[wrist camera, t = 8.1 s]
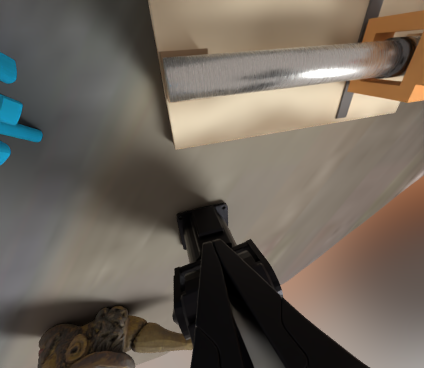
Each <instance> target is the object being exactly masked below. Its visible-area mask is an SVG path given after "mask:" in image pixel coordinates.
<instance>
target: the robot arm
mask: <svg viewBox="0 0 424 368" xmlns="http://www.w3.org/2000/svg"><path fill="white" fill-rule="evenodd" d="M223 206H224V207H223ZM177 222H178V226H179V231H180V235H181V240H182V244H183V248H184V249H185V250H187V253H188V257H189V262H190V264H187V265H185V266H182V267H177V268H175V276H174V309H173V320H174V322H175V323H176V324H178V325H179V327H180V329H181V331H182V334H183V336H184V338H185V339H186V340H188V339H191V341H192V345H193V354H192V361H191V367H190V368H370V367H368V366H367V365H365V364H364V363H362V362H361V361H360V360H358V359H357V358H356V357H354V356H353V355H352V354H351V353H349V352H348V351H347V350H345V349H344V348H343V347H342V346H340V345H339V344H338V343H337V342H335V341H334V340H333V339H331V338H330V337H329V336H328V335H326V334H325V333H324V332H322V331H321V330H320V329H319V328H317V327H316V326H315V325H314V324H312V323H311V322H310V321H309V320H308V319H306V318H305V317H304V316H303V315H302V314H301V313H299V312H298V311H297V310H296V309H295V308H294V307H293V306H292V305H290V304H289V303H288V302H287V301H286V300H285V299H284V298H283V293H282V289H281V287H280V284H279V281H278V279H277V277H276V275H275V273H274V271H273V269H272V267H271V265H270V264H269V262H268V261H267V260H266V258H265V257H264V256H263V255H262V253H261V252H260V251H259V249H258V248H257V247H256V245H255V244H254V243H253V241H252V240H251V239H250V240H247V241H246V242H244V243H242V244H239V245H236V243H235V240H234V238H233V236H232V234H231V232H230V230H229V228H228V207H227V204H226V203H220V204H216V205H212V206H207V207H203V208H199V209H195V210H190V211H186V212H182V213H178V214H177Z"/></svg>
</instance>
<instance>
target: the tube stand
mask: <svg viewBox="0 0 424 368" xmlns="http://www.w3.org/2000/svg"><path fill="white" fill-rule="evenodd" d="M148 4H149V10H150V15H151V21H152V26H153V32H154V37H155V43H156V48H157V54H158V60H159V65H160V71H161V76H162V82H163V87H164V93H165V98H166V104H167V109H168V115H169V121H170V126H171V132H172V137H173V143H174V146H175V149H176V150H178V149H183V148H189V147H195V146H201V145H207V144H213V143H219V142H225V141H231V140H236V139H242V138H248V137H254V136H260V135H266V134H272V133H278V132H284V131H289V130H295V129H301V128H307V127H313V126H319V125H325V124H331V123H337V122H342V121H348V120H354V119H360V118H366V117H372V116H378V115H384V114H390V113H395V112H396V110H397V107H398V105H399V103H400V101H395V100H390V99H385V98H379V97H374V96H368V95H363V94H357V93H352V92H347V90H348V87H349V84H350V80H359V79H367V78H376V79H383V80H393V81H402V80H403V77H404V75H405V73H406V70H407V68H408V66H409V63H410V61H411V59H412V57H413V54H414V52H415V50H416V47H417V45H418V43H419V40H420V38H421V36H422V34H423V31H424V30H412V31H401V32H395V34H394V37H393V38H388V39H386V40H384V41H373V42H362V41H363V37H364V34H365V31H366V27H367V24H368V21H369V19H371V18H377V17H384V16H390V15H397V14H403V13H409V12H416V11H422V10H424V0H148Z"/></svg>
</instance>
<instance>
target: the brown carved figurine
mask: <svg viewBox="0 0 424 368" xmlns="http://www.w3.org/2000/svg"><path fill="white" fill-rule="evenodd" d="M39 347H40V350H39V359H38V368H135V363H134V360H133V359H132V357H130V356H129V355H128V354H126V353H125V352H127V351H129V350H131V349H132V350H133V351H134V352H140V353H156V352H165V351H174V350H192V349H193V345H192V341H191V339H188V340H186V339H185V338H184V336H183V334H180V333H176V332H172V331H169V330H167V329H165V328H163V327H161V326H160V325H158V324H156V323H147V321H146V320H144V319H142V318H140V317H136V316H130V315H128V311H127V309H126V308H123V307H122V306H114V307H113V308H112V309H108V308H104V309H102V310H100V311H99V312H98V314H97V315H96V318H95V320H94V321H92V322H90V323H88V324H86V325H84V326H81V327H79V326H76V325H73V324H60V325H57V326H54V327H53V328H50V329H49V330H48V331H47V332H46V333H45V334H44V335H43V336H42V337H41V339H40V341H39Z"/></svg>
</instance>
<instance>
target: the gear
mask: <svg viewBox="0 0 424 368" xmlns="http://www.w3.org/2000/svg"><path fill="white" fill-rule="evenodd" d="M16 78H17V69H16V63H15V60H13V59H11V58H10V57H8V56H6V55H4V54H3V53H1V52H0V81H2V82H4V83H7V84H10V83H13V82H14V81H15V80H16ZM22 107H23V105H22V103H21V102H19V101H17V100H14V99H12V98H9V97H7V96H4V95H1V94H0V134H3V135H7V136H11V137H16V138H20V139H24V140H28V141H33V142H40V141H41V140H42V137H43V134H42V132H41V131H40V130H38V129H34V128H31V127H28V126H24V125H21V124H18V123H17V122H18V121H19V118H20V115H21V112H22ZM10 154H11V150H10V148H9V146H8V145H7V144H5V143H3V142H2V141H0V165H1V164H3V163H4V162H5V161H6V159H7V158H8V157H9V155H10Z"/></svg>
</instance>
